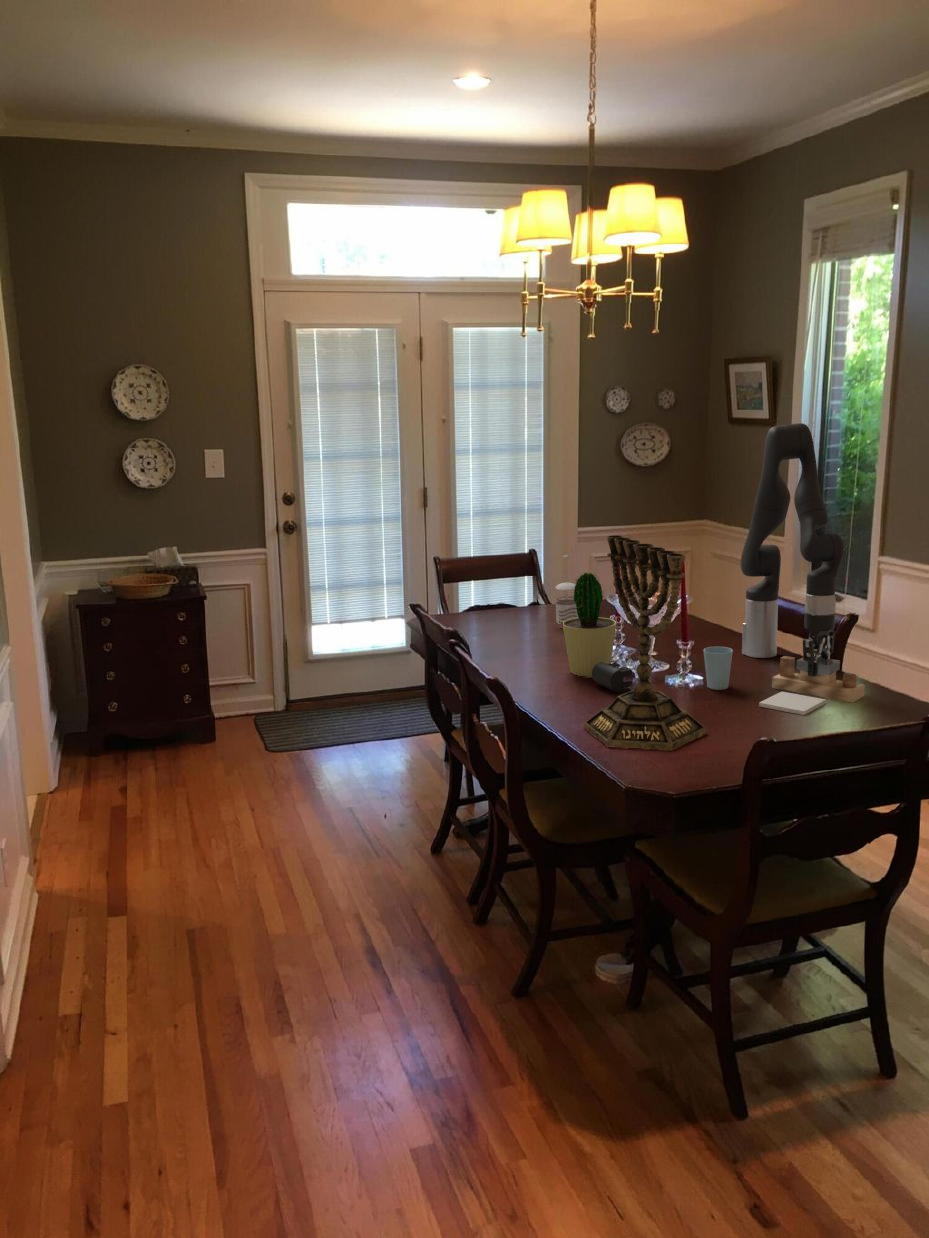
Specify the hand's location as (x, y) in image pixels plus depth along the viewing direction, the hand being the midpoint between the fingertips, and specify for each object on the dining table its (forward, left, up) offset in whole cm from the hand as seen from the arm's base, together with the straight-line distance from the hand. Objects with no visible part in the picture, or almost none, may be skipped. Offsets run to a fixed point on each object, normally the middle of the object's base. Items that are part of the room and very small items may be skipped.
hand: (817, 672), depth 263 cm
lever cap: (0, 0, +1) cm, 1 cm away
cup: (-23, -11, -5) cm, 26 cm away
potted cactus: (-60, -19, -5) cm, 63 cm away
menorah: (-18, -53, -5) cm, 56 cm away
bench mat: (0, -14, -5) cm, 15 cm away
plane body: (0, 0, -5) cm, 5 cm away
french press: (-102, +25, -5) cm, 105 cm away
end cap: (-45, -29, -5) cm, 54 cm away
